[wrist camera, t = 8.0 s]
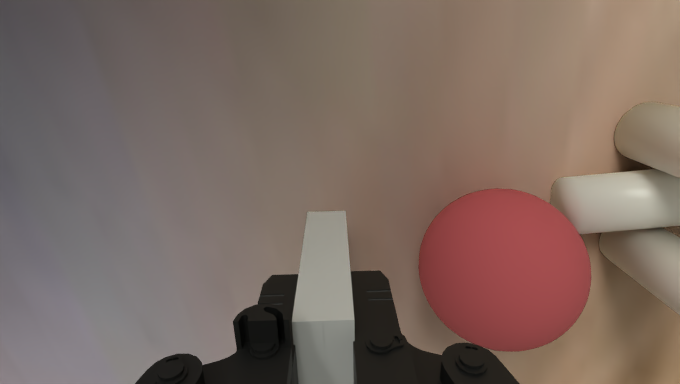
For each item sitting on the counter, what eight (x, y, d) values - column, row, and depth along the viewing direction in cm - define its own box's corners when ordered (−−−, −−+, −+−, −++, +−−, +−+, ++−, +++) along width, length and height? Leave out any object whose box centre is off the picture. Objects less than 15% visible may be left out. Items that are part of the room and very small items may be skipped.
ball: (670, 297, 13) (554, 218, 18) (560, 193, 11) (468, 140, 16) (533, 415, 14) (464, 308, 20) (413, 340, 12) (373, 245, 18)
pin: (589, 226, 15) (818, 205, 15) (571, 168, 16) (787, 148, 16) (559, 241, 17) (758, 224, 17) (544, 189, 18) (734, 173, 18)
